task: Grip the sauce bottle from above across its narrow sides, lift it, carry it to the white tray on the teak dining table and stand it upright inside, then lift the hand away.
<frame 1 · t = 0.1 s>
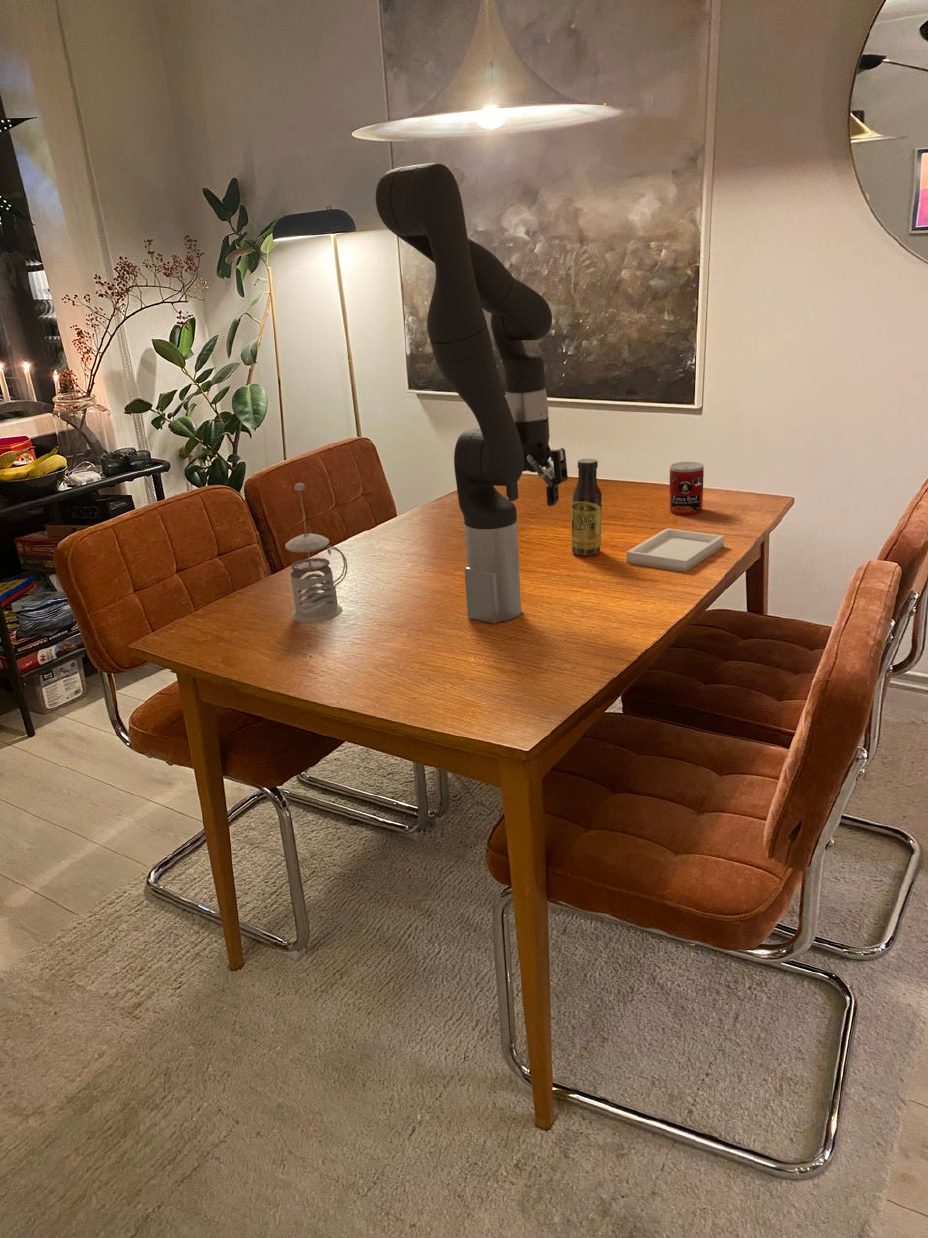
hand: (532, 502, 172), 17 cm above the table, tool pointing down, fingers open, 8 cm apart
canned food: (685, 511, 221), on the table
french press: (321, 612, 176), on the table
sauce bottle: (587, 553, 197), on the table
white tray: (675, 554, 192), on the table
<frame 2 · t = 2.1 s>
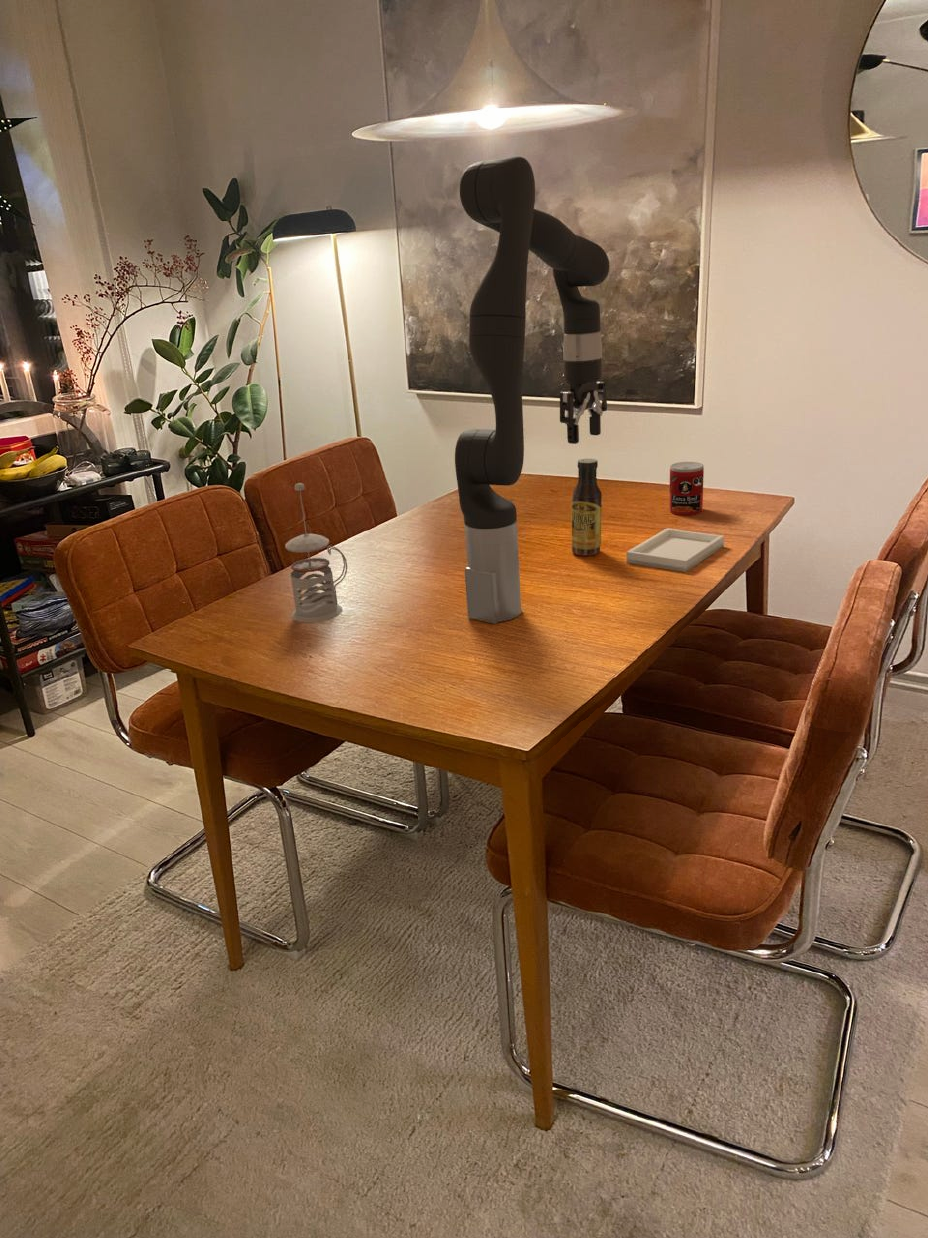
hand: (584, 438, 188), 24 cm above the table, tool pointing down, fingers open, 8 cm apart
nothing on the table moved.
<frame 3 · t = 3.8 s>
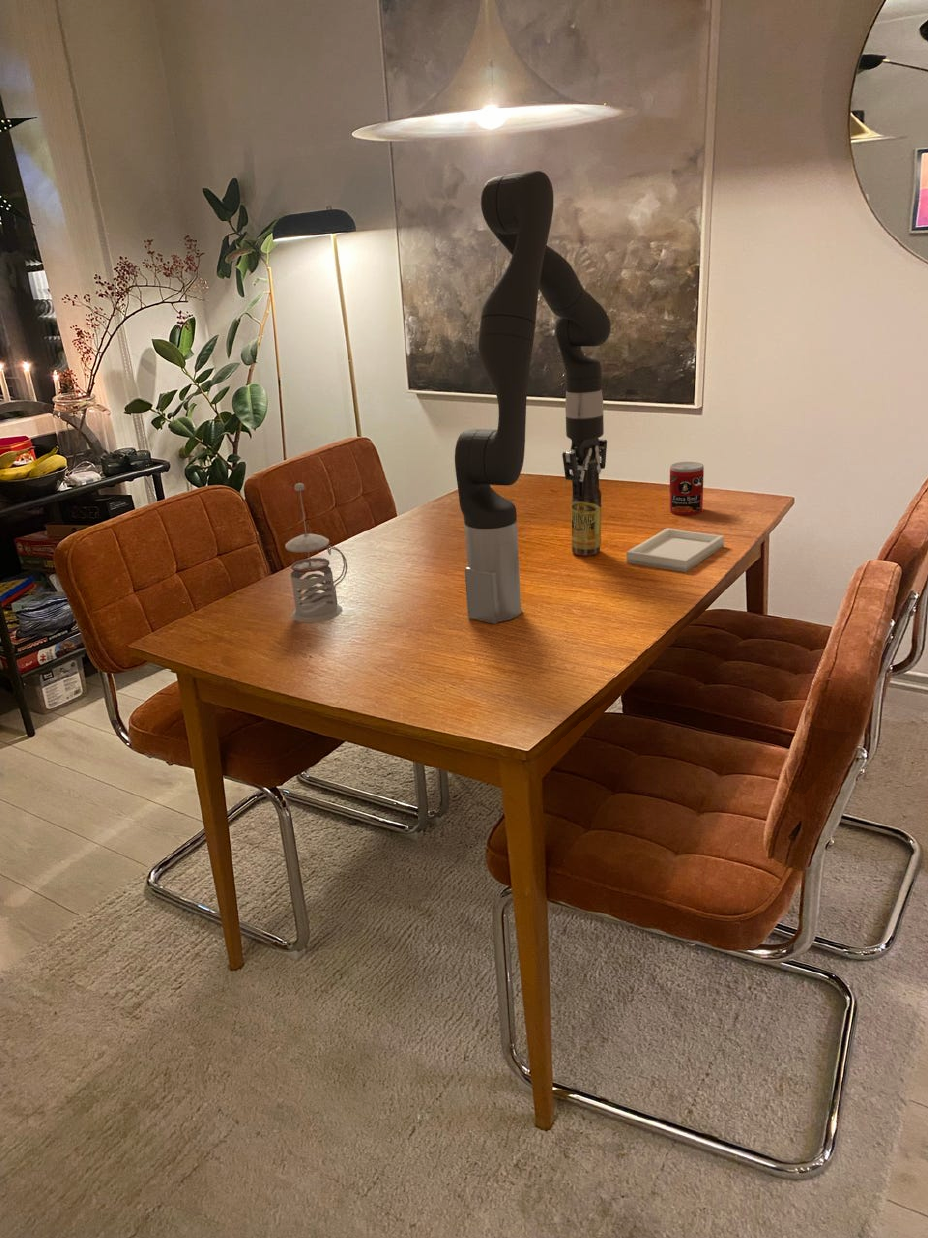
hand: (586, 494, 192), 13 cm above the table, tool pointing down, fingers closed on sauce bottle, 5 cm apart
sauce bottle: (587, 553, 197), on the table, touching gripper
everything else where it was.
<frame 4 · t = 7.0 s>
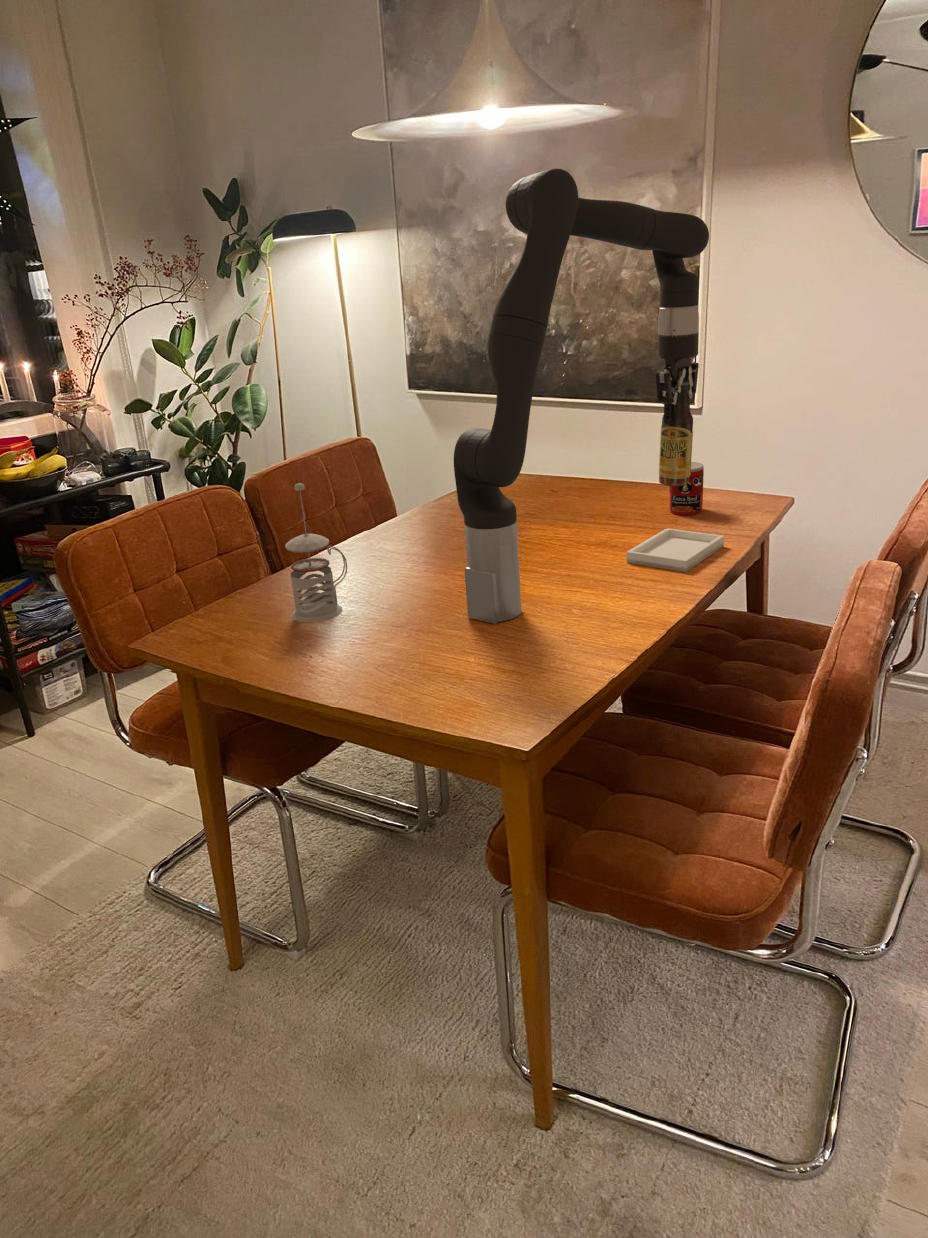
hand: (676, 420, 182), 28 cm above the table, tool pointing down, fingers closed on sauce bottle, 5 cm apart
sauce bottle: (675, 484, 186), point 15 cm above the table, touching gripper
everything else where it was.
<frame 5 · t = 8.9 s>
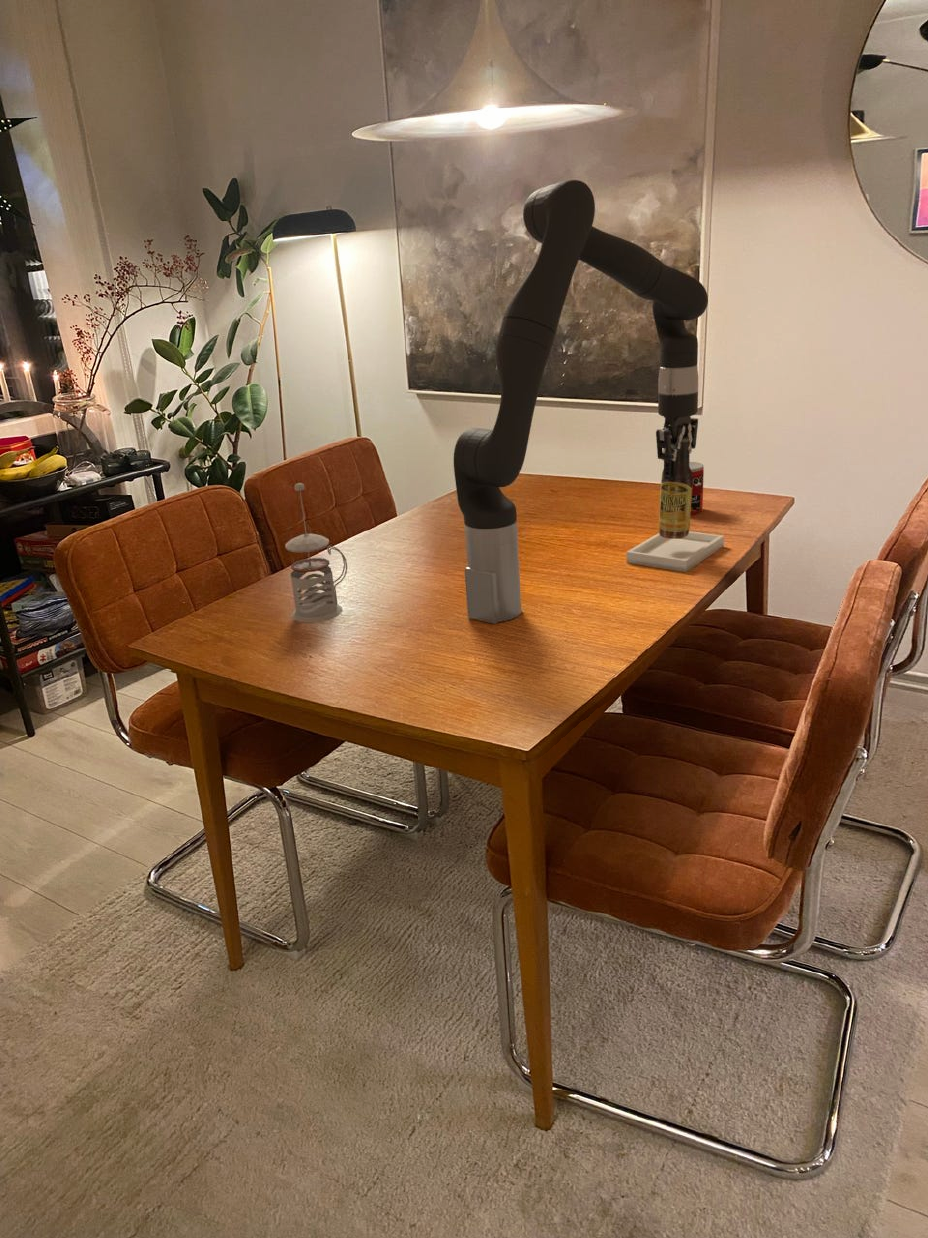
hand: (676, 475, 186), 17 cm above the table, tool pointing down, fingers closed on sauce bottle, 5 cm apart
sauce bottle: (674, 536, 190), point 4 cm above the table, touching gripper
everything else where it was.
when the fingers open (15 cm above the table, at t = 10.3 s): sauce bottle drops 1 cm, resting on white tray.
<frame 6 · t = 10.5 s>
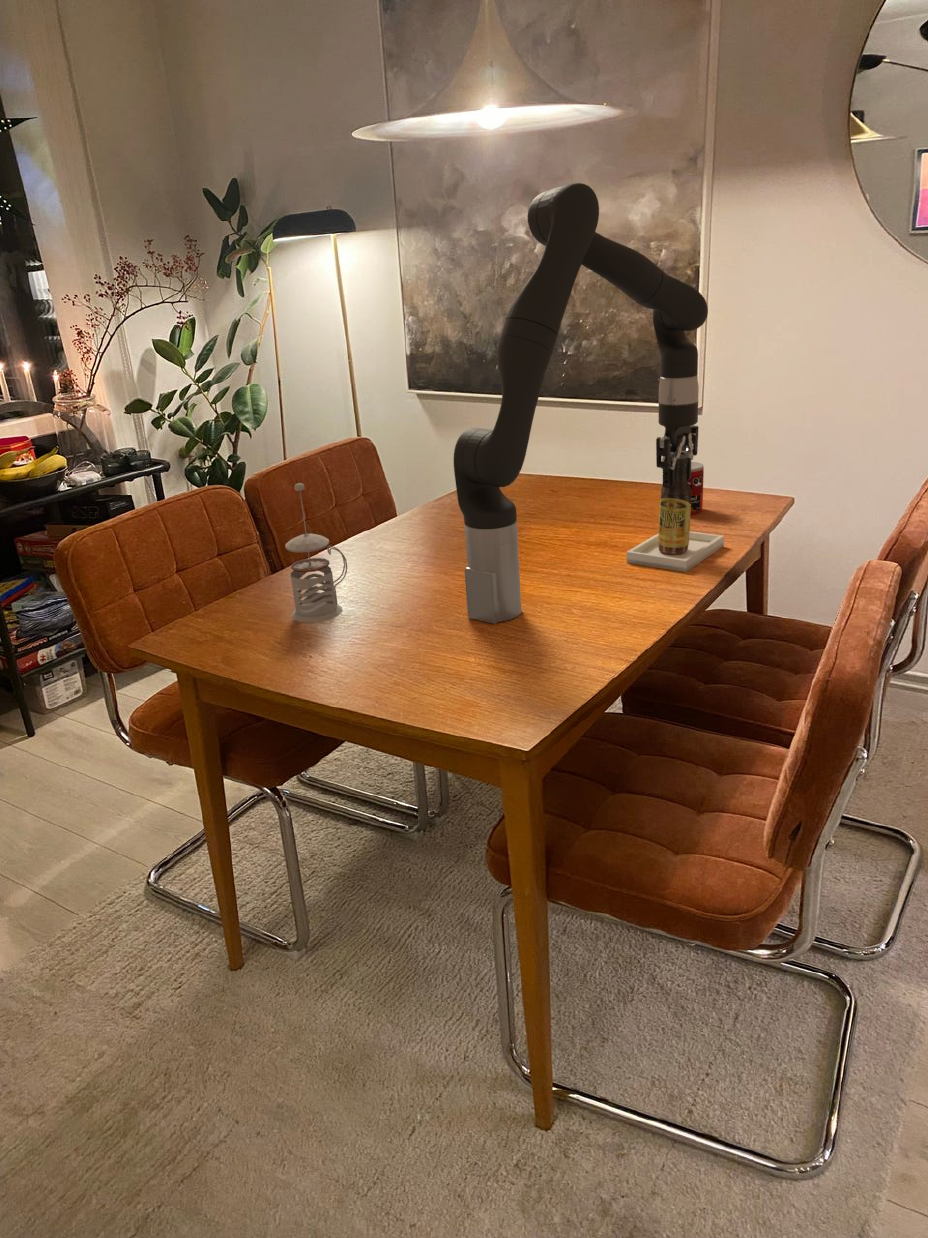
hand: (676, 482, 186), 15 cm above the table, tool pointing down, fingers open, 7 cm apart
sauce bottle: (674, 552, 192), point 1 cm above the table, touching white tray
everything else where it was.
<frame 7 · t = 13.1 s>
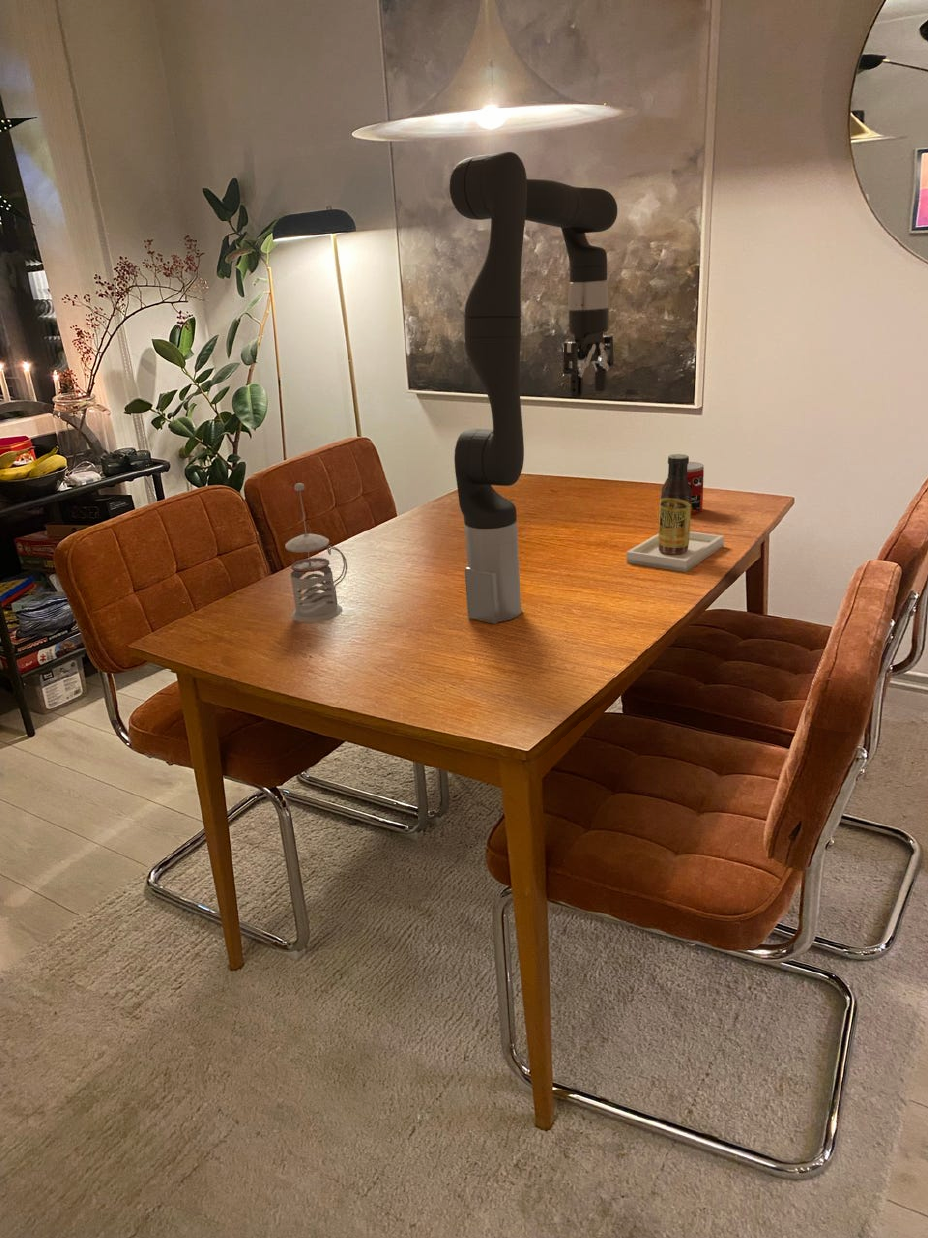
hand: (589, 393, 182), 34 cm above the table, tool pointing down, fingers open, 8 cm apart
nothing on the table moved.
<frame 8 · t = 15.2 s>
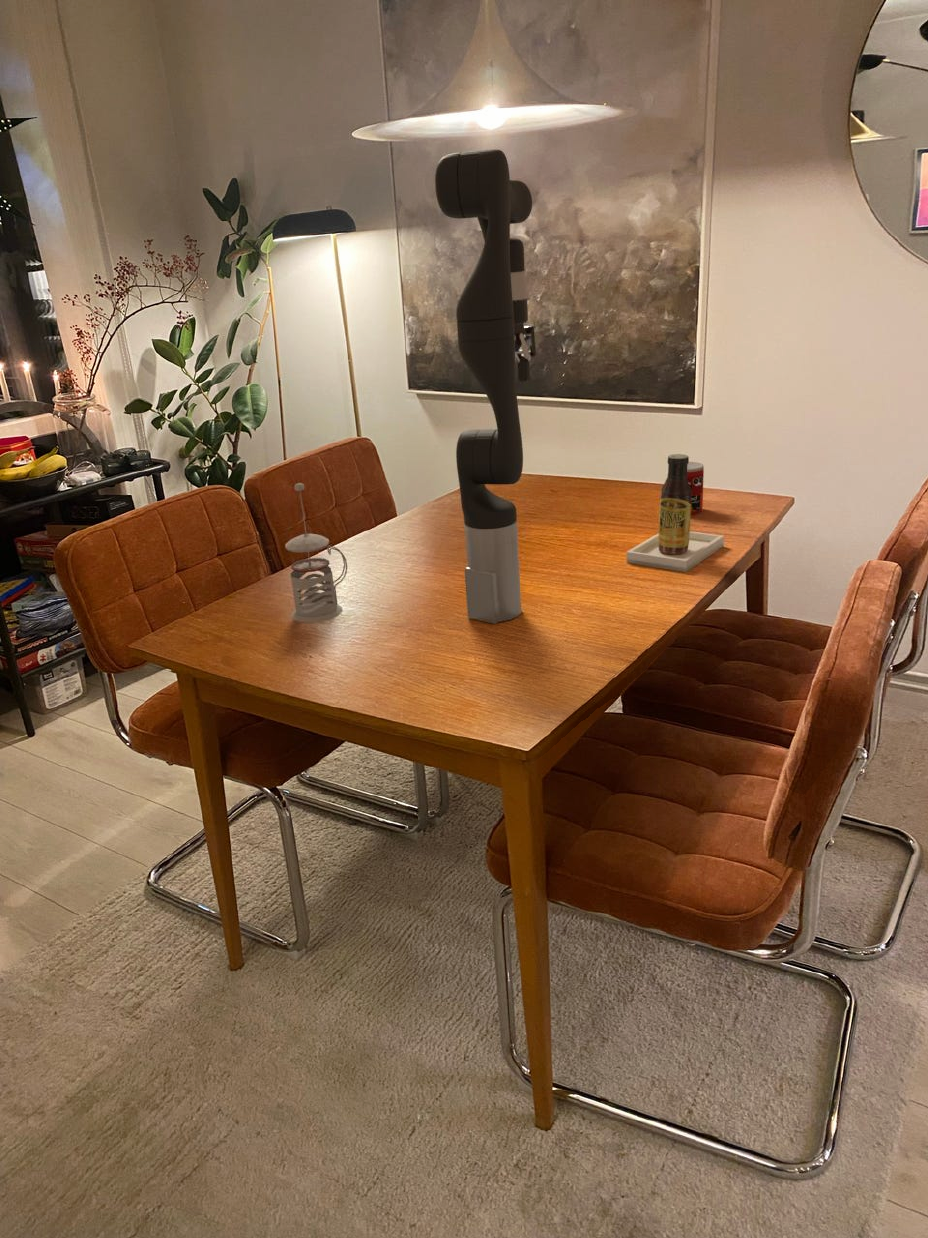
hand: (511, 384, 184), 36 cm above the table, tool pointing down, fingers open, 8 cm apart
nothing on the table moved.
at the end: sauce bottle inside the target area on the white tray (0.4 cm from its centre), point 0.6 cm above the white tray's base; sauce bottle tilted 0°; the gripper is holding nothing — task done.
